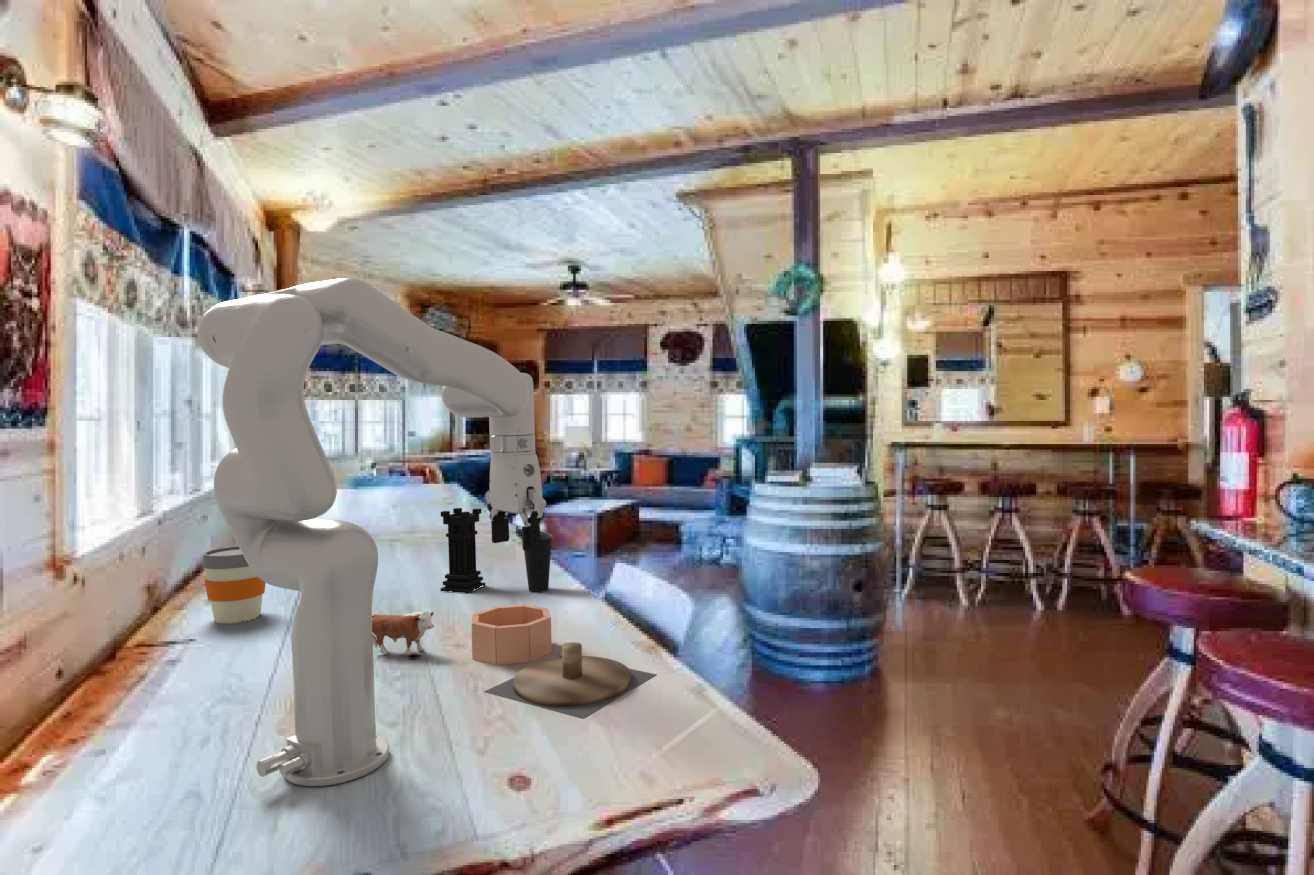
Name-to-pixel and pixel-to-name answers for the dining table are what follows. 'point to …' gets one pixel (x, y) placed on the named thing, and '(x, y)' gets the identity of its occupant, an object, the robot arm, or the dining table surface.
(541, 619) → the bowl
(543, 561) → the drinking cup
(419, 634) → the bull figurine
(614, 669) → the lid
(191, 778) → the dining table surface
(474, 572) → the chess piece
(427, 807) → the dining table surface
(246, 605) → the reusable coffee cup
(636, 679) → the mat
